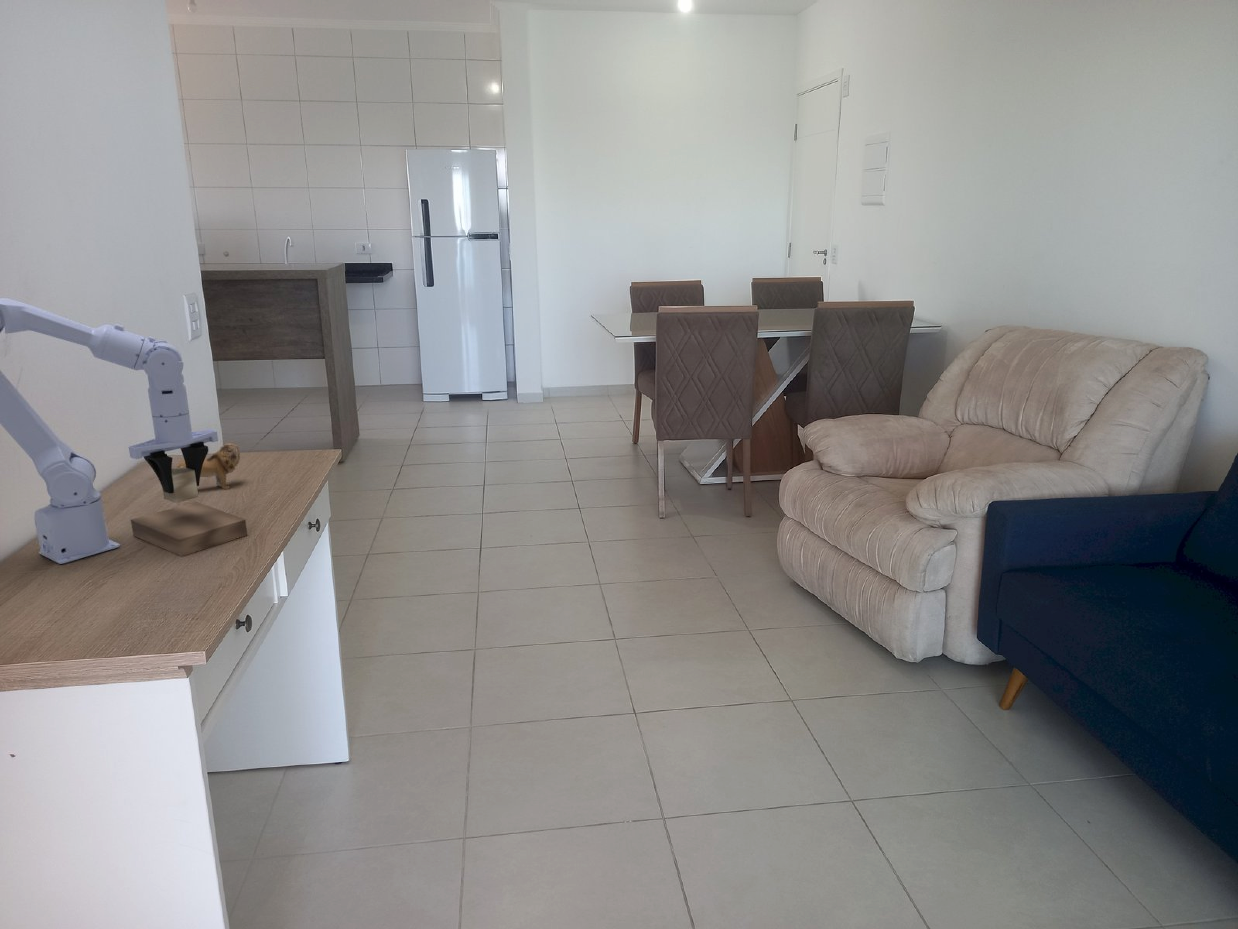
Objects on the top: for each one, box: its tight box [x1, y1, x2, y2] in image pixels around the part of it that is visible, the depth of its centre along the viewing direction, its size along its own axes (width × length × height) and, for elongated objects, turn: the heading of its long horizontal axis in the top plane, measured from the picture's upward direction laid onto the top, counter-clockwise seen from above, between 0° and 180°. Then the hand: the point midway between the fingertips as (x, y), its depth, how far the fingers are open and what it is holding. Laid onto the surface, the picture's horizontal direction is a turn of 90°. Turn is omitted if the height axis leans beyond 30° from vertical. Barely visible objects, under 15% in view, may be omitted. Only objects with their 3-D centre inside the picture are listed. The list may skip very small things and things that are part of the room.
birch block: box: [162, 467, 199, 504], centre depth 147 cm, size 4×4×5 cm
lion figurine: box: [175, 442, 241, 490], centre depth 172 cm, size 15×5×9 cm, turn 131°
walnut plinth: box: [130, 501, 248, 557], centre depth 148 cm, size 12×16×3 cm
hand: (181, 488), depth 147 cm, fingers closed on birch block, 4 cm apart
